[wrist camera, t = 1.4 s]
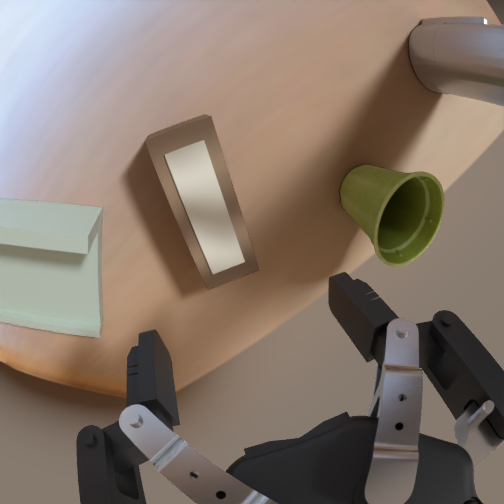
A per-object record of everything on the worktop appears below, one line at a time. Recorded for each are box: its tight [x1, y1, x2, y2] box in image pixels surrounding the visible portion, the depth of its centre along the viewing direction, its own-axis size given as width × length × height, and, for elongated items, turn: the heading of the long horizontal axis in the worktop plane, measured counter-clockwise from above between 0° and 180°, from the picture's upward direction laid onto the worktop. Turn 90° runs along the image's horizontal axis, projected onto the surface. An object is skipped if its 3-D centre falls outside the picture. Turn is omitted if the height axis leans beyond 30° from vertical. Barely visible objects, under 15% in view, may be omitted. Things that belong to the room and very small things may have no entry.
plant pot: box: [340, 165, 444, 267], centre depth 27 cm, size 9×9×9 cm
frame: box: [145, 114, 259, 290], centre depth 24 cm, size 14×5×5 cm, turn 16°
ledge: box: [0, 198, 103, 338], centre depth 20 cm, size 20×14×6 cm
